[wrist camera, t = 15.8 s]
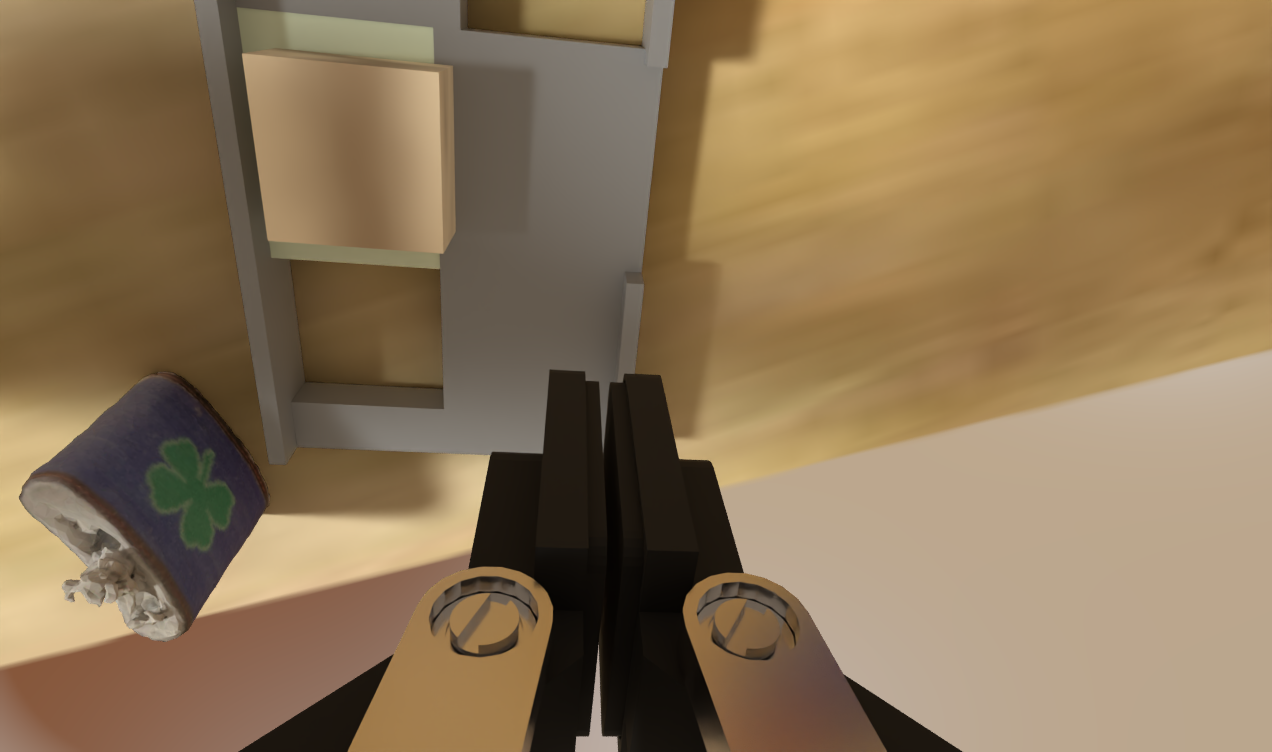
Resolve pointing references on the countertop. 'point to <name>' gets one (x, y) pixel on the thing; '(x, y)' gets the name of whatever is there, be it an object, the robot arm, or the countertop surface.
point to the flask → (151, 504)
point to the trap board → (462, 221)
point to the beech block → (353, 149)
